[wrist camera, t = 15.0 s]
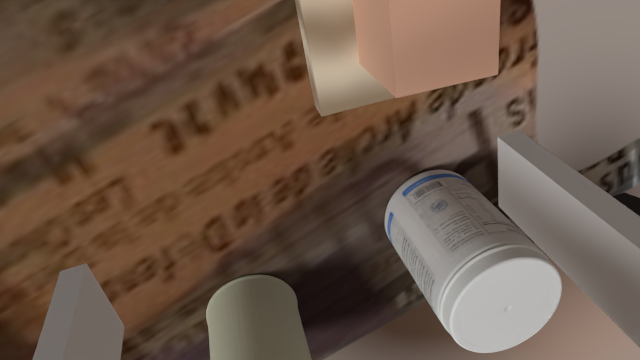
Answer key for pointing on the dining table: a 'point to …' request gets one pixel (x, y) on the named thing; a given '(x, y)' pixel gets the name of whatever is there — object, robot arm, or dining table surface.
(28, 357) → the dining table surface
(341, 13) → the ash slab
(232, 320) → the can
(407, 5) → the terracotta block
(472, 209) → the supplement tub
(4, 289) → the dining table surface
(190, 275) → the dining table surface
